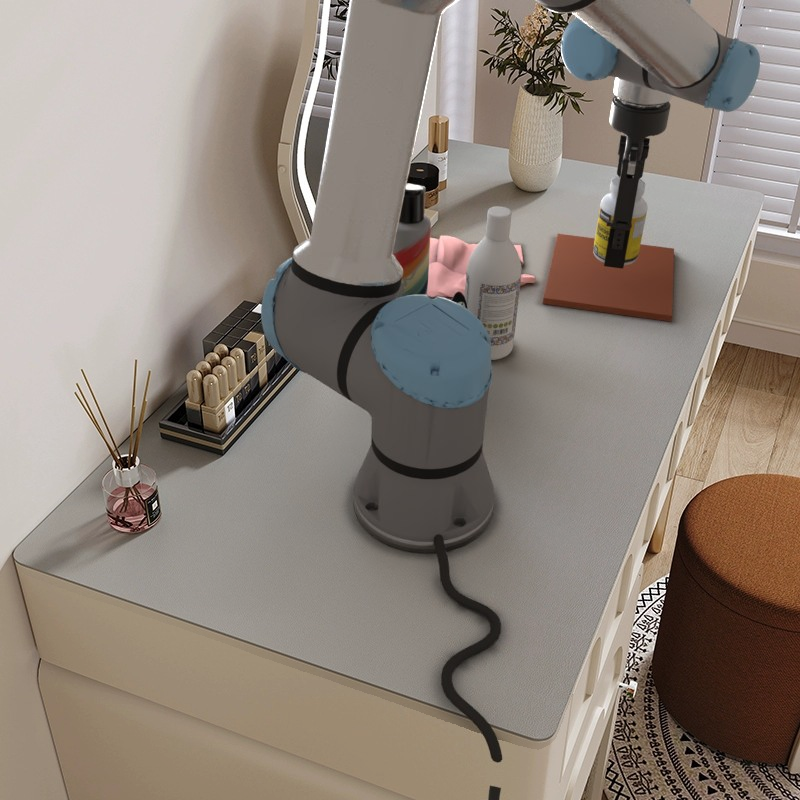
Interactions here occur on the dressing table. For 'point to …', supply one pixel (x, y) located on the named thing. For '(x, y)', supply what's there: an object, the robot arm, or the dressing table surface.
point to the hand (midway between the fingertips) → (615, 253)
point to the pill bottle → (607, 215)
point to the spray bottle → (413, 242)
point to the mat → (611, 280)
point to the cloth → (454, 266)
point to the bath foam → (495, 282)
